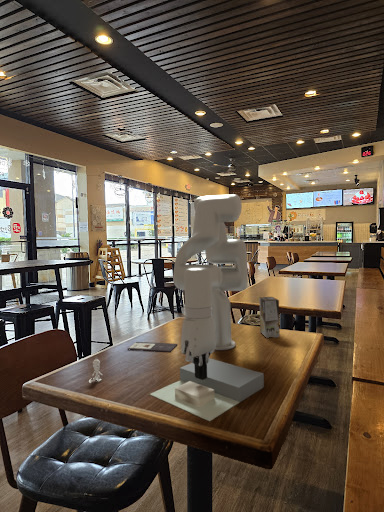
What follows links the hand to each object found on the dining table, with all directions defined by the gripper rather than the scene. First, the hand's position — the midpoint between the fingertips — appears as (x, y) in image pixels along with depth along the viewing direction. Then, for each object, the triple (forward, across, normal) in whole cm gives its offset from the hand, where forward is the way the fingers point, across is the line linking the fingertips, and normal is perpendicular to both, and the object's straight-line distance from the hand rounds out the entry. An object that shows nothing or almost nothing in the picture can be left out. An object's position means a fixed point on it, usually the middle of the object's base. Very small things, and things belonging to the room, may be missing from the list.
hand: (201, 377), depth 95 cm
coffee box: (+5, -62, -15) cm, 63 cm away
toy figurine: (+5, +14, -31) cm, 35 cm away
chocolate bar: (+5, -18, -43) cm, 47 cm away
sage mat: (+5, +4, 0) cm, 6 cm away
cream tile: (+2, +3, 0) cm, 4 cm away
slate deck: (+5, -8, 0) cm, 10 cm away
